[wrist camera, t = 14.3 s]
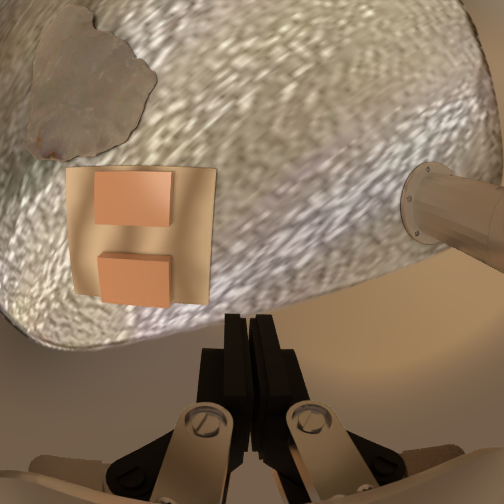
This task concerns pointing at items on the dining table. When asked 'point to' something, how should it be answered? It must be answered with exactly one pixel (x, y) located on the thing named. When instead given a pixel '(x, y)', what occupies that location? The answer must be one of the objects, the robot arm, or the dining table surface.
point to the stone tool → (83, 89)
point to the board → (145, 231)
